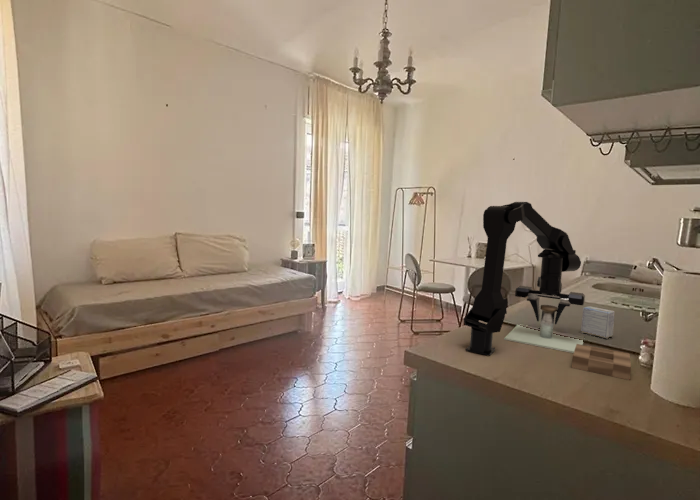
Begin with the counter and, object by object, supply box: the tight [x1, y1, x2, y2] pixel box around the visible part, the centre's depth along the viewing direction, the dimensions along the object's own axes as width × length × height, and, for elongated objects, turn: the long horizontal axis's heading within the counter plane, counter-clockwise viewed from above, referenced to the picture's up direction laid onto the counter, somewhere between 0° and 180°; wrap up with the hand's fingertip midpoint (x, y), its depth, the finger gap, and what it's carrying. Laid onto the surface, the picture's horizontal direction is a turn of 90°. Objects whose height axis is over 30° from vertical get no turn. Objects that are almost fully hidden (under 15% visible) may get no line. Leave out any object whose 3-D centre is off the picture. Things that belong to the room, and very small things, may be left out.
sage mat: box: [503, 324, 584, 354], centre depth 126 cm, size 20×20×1 cm
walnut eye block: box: [571, 344, 632, 381], centre depth 103 cm, size 12×12×3 cm
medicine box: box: [580, 305, 616, 337], centre depth 131 cm, size 8×4×9 cm, turn 35°
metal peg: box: [539, 304, 558, 339], centre depth 125 cm, size 5×5×10 cm
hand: (546, 322), depth 125 cm, fingers open, 5 cm apart
